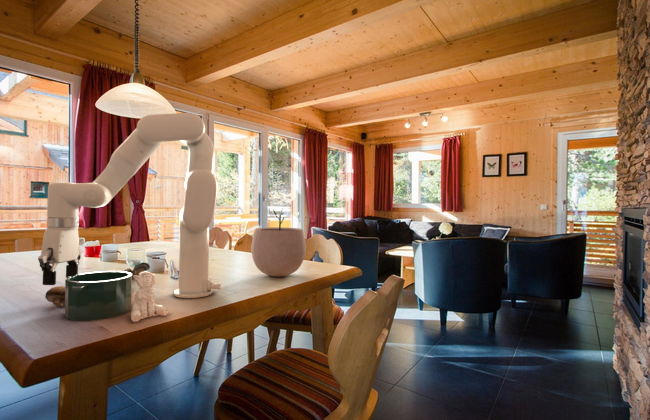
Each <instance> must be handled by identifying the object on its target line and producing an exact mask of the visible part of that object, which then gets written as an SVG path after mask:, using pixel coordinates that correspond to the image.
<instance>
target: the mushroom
mask: <svg viewBox="0 0 650 420" xmlns="http://www.w3.org/2000/svg"><path fill="white" fill-rule="evenodd" d="M45 299H46V300H47V302H49V303H52V304H53V305H54V306H57V307H60V308H62V307H64V306H65V285H64V286H63V285H59V286H53V287H51V288H50V289H48V290H47V291H46V292H45Z"/></svg>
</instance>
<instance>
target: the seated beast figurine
mask: <svg viewBox="0 0 650 420" xmlns="http://www.w3.org/2000/svg"><path fill="white" fill-rule="evenodd" d="M155 276H156V274H154V273H152V272H151V271H144V272H140V275H139V276H137V275H133V277H134V279H133V280H135V281H136V285H137V286H138V287H139V288H138V289H137V291H136V292H135V295H134V300H133V302H132V304H131V312H130V319H131V321H132V322H133V323H137V322H139V321H140V320H143V319H148V318H152V317H157V316H162V317H163V316H164V317H165V316H167V315H168V313H169V309H168V308H166V307H165V306H164V305H163V304H157V303H156V302H155V300H154V299H155V294H154V291H153V290H154V289H153V286H154V285H155V284H156V279H155Z"/></svg>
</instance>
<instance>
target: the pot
mask: <svg viewBox="0 0 650 420" xmlns="http://www.w3.org/2000/svg"><path fill="white" fill-rule="evenodd" d="M64 283H65V284H64V287H65V303H64V316H65V318H66V319H68V320H72V321H95V320H104V319H110V318H114V317H119V316H122V315H124V314H126V313H128V312H130V311H132V309H131V308H132V305H133V302H132V298H133V296H132V295H133V294H132V293H133V280H132V273H129V272H124V271H122V270H117V271H116V270H106V271H105V270H104V271H92V272H84V273H78V275H74V276H71V277H68V278H65V281H64Z"/></svg>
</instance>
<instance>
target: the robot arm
mask: <svg viewBox="0 0 650 420" xmlns="http://www.w3.org/2000/svg"><path fill="white" fill-rule="evenodd" d="M179 141H180V142H181V143H183V144H184V145H185V146H186V147H187V149H188V164H187V170H186V177H185V181H184V188H185V192H184V200H183V201H184V202H183V207H182V208H181V210H180V212H179V217H178V222H179V223H178V228H179V248H178V249H179V250H178V251H179V255H178V269H179V270H178V288H177V289H175V290H174V291H173V296H174V297H176V298H180V299H197V298H204V297H207V296H210V295H212V294H213V293H214V290H221V287H222V286H221V285H222V284H221V283H219V282H212V279H211V278H209V266H210V265H209V261H210V260H209V257H210V226H211V225H212V224H213V221H214V217H215V213H216V212H215V211H216V204H217V196H218V195H217V194H218V180H217V177H216V175H215V174H214V173H215V163H216V162H215V160H216V150H215V145H214V143H213V141H212V139H211V138H210V136H209V134H207V133H206V125H205V121H204V120H203V118H202V117H201V116H199V115H198V114H196V113H192V112H177V113H176V112H175V113H158V114H157V113H156V114H148V115H145V116H142V117H141V118H139V120H138V121H137V124H136V128H135V129H134V130H133V131H132V132H131V133H130V135H129V136H127V138H126V139H125V140H124V141H123V142H122V143H121V144H120V145H119V146H118V147H117V148H116V149H115V150H114V151H113V153H112V154H111V156H110V159H109V162H108V164H107V165H106V167H105V168H104V169H103V171H102V172H100V174H99V175H98V176H97V177H96V178H95V180H93V181H92V182H85V183H84V182H83V183H81V182H80V183H75V182H68V181H52V182H50V183H49V184H48V186H47V206H46V207H47V208H46V209H47V210H46V228H45V230H44V233H43V237H42V243H41V251H40V255H39V256H38V257H37V260H38V263H39V267H40V268H41V272H42V285H43V286H55V285H56V284H57V270H56V268H57V266H58V265H59V264H62V263H67V264H66V265H65V279H67V278H68V277H71V276H74V275H78V274H79V265H80V261H81V257H82V253H83V249H81V248H80V235H79V222H80V221H79V219H80V217H79V216H80V207H83V208H92V209H96V208H101V207H105V206H106V205H108V204H109V203H110V202H111V201H112V199H113V198H115V196H116V195H117V194H118V193H119V192H120V191H121V190H122V188H124V186H125V185H126V184H127V183H128V182H129V181H130V179H132V177H133V176H135V175H136V173H138V171H139V170H140V169H141V168H142V166H143V165H144V164H145V163H146V162H147V161H148V160H149V159H150V157H152V155H153V154H154V153H155V152H157V150H158V149H159V148H160V147H161V146H162V145H163V143H164V142H179Z"/></svg>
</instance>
